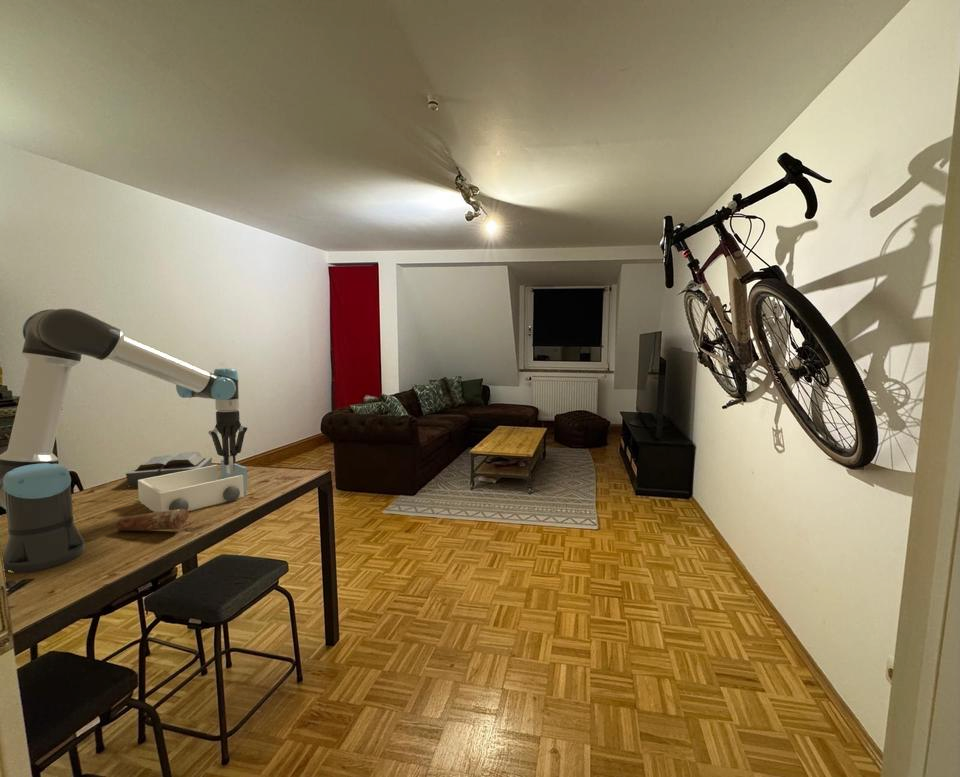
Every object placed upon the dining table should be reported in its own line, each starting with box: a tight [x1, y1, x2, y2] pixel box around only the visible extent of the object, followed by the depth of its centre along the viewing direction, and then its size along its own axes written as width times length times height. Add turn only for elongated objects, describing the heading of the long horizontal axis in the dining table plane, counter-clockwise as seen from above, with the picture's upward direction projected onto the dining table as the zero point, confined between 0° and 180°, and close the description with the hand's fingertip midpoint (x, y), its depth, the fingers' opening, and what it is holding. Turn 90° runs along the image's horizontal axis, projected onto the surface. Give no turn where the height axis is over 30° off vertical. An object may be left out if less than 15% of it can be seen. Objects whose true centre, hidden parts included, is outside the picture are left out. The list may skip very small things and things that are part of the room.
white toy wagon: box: [137, 464, 245, 513], centre depth 154 cm, size 25×25×8 cm
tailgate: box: [219, 458, 248, 495], centre depth 165 cm, size 1×20×10 cm, turn 53°
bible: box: [125, 451, 213, 488], centre depth 177 cm, size 23×27×10 cm
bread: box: [116, 509, 189, 532], centre depth 128 cm, size 6×19×6 cm, turn 90°
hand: (230, 472), depth 164 cm, fingers closed
